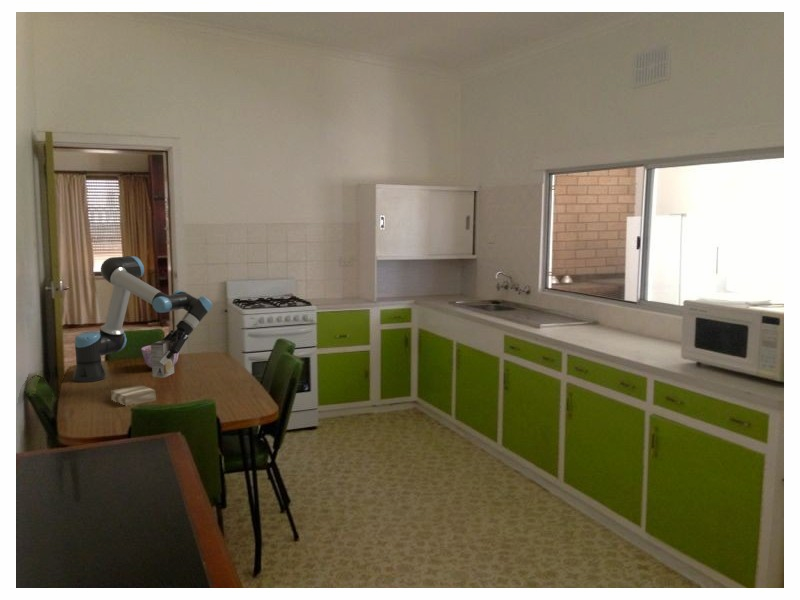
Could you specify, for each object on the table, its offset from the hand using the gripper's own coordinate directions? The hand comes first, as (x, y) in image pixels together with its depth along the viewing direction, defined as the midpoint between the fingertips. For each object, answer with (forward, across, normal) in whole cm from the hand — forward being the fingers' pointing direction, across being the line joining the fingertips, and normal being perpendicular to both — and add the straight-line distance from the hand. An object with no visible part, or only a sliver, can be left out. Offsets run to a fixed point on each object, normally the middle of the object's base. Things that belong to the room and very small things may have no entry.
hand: (156, 361), depth 313 cm
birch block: (+20, -4, -2) cm, 21 cm away
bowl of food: (-6, +47, -29) cm, 56 cm away
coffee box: (+3, 0, -7) cm, 8 cm away
